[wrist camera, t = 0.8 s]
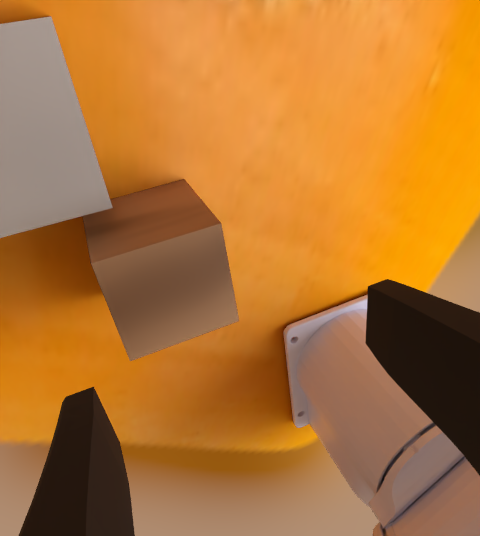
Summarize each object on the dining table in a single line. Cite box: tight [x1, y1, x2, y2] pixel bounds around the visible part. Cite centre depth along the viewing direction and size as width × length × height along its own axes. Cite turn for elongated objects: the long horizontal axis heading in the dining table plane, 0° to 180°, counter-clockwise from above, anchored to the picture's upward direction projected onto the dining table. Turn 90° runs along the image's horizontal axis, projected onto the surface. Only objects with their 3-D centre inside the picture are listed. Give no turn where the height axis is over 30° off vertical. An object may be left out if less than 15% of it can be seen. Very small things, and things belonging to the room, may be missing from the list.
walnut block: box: [82, 179, 239, 361], centre depth 17 cm, size 4×4×5 cm
